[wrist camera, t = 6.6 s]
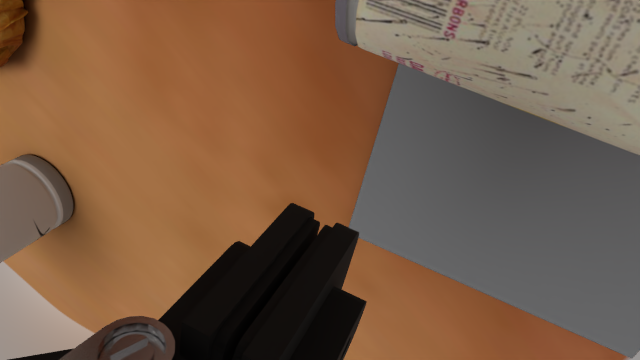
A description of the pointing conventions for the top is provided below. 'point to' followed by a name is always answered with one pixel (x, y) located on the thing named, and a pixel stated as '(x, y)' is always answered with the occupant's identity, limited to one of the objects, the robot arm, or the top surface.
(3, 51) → the croissant
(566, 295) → the mat
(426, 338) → the top surface
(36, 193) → the travel mug
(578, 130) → the aerosol can
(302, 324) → the robot arm
